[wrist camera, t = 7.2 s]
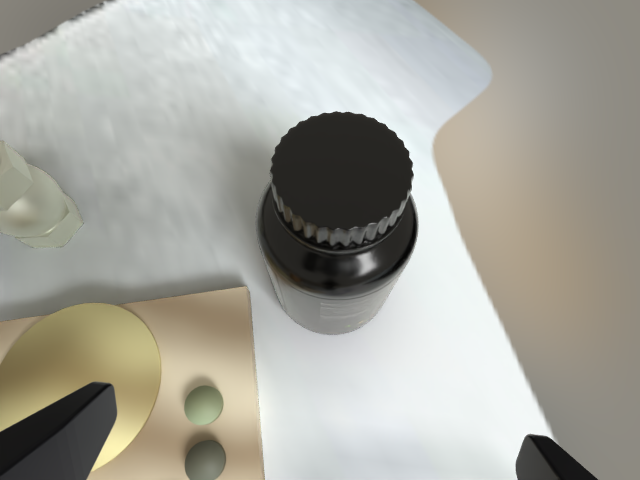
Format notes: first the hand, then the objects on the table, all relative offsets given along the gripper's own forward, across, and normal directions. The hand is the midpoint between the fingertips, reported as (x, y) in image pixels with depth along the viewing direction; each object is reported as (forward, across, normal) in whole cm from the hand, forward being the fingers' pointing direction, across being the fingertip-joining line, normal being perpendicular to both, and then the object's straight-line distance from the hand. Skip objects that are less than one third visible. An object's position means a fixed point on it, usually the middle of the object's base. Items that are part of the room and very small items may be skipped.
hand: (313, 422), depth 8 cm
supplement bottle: (+15, 0, +4) cm, 16 cm away
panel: (+8, +10, +11) cm, 17 cm away
